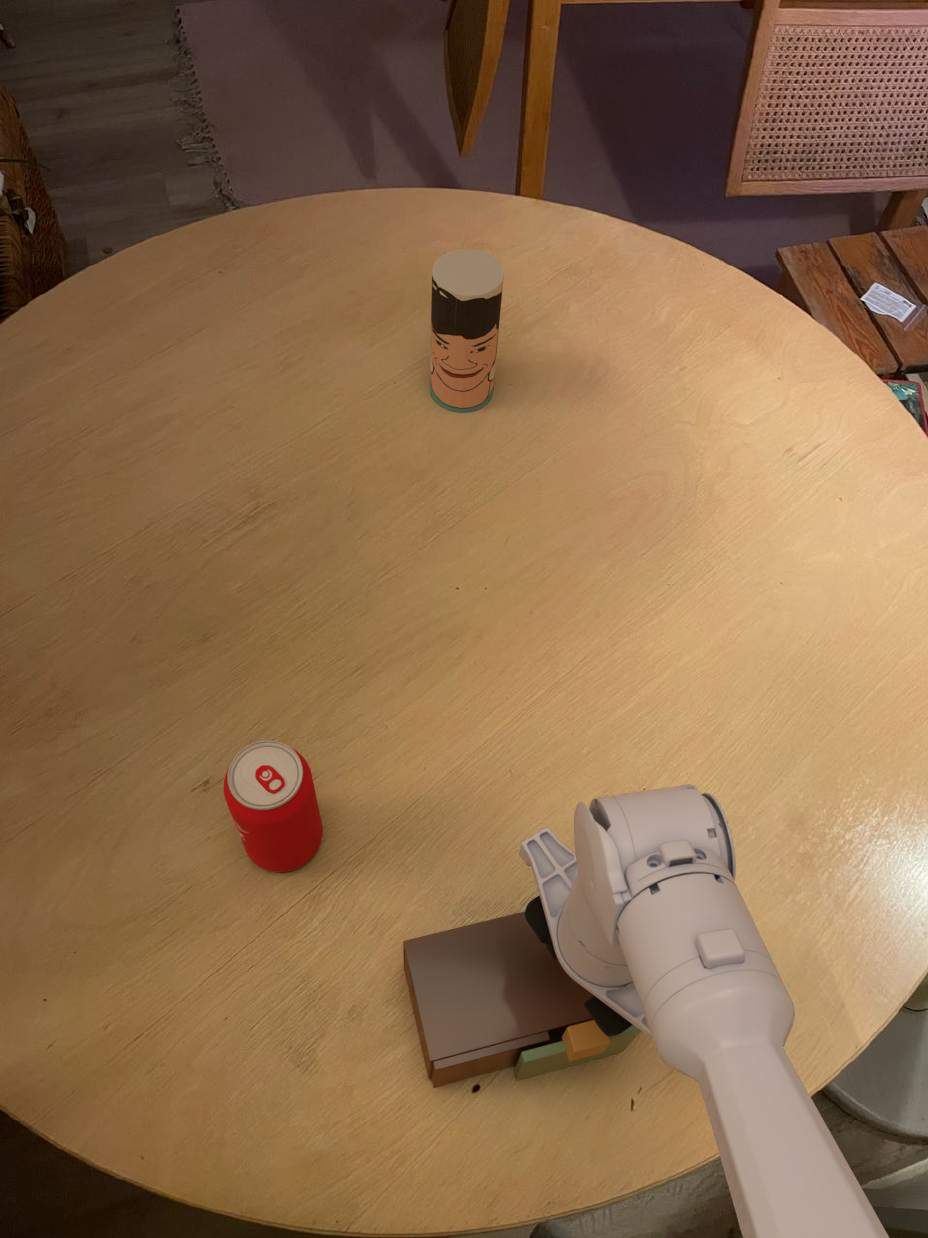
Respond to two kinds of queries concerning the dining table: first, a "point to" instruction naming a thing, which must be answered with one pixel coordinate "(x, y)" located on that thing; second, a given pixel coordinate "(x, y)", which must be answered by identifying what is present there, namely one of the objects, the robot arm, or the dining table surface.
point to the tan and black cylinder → (464, 329)
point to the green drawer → (573, 1049)
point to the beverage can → (274, 805)
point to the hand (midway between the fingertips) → (584, 976)
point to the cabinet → (487, 997)
